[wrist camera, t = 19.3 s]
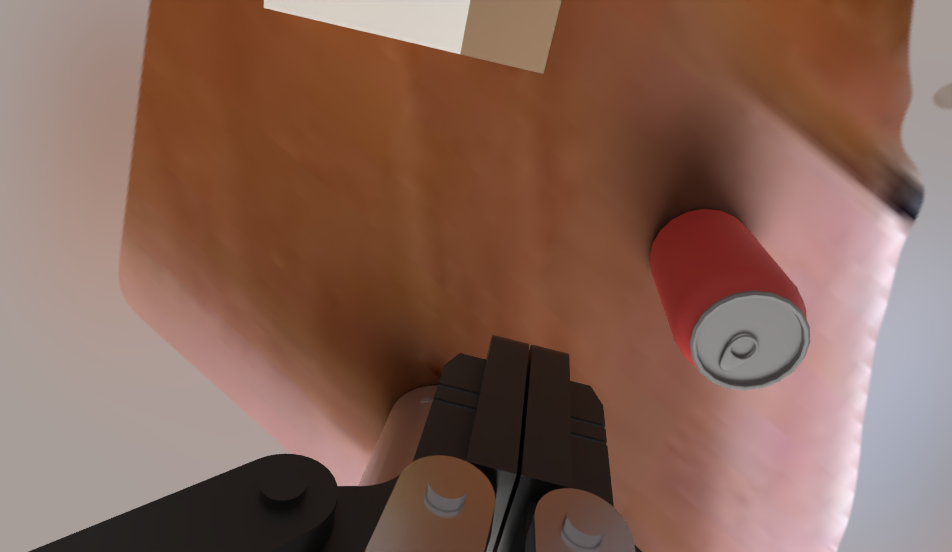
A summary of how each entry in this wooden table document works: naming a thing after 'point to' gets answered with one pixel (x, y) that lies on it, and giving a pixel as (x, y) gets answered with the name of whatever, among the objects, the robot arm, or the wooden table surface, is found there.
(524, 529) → the robot arm
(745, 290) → the beer can
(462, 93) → the wooden table surface
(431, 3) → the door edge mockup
